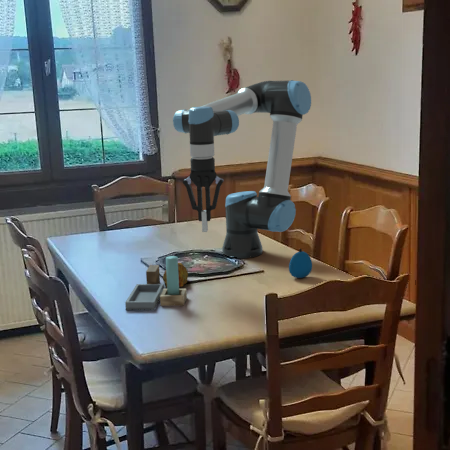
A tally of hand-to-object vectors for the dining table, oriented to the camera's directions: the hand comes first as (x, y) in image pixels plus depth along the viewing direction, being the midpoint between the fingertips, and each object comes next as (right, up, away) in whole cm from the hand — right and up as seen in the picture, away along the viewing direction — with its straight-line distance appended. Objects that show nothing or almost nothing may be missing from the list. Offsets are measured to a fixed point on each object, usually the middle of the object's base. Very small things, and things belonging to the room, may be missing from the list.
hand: (205, 230), depth 221 cm
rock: (-9, -18, +7) cm, 22 cm away
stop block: (-17, -18, +6) cm, 26 cm away
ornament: (+31, -16, +10) cm, 37 cm away
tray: (-18, -21, -7) cm, 29 cm away
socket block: (-9, -22, -9) cm, 25 cm away
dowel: (-9, -22, -9) cm, 25 cm away
